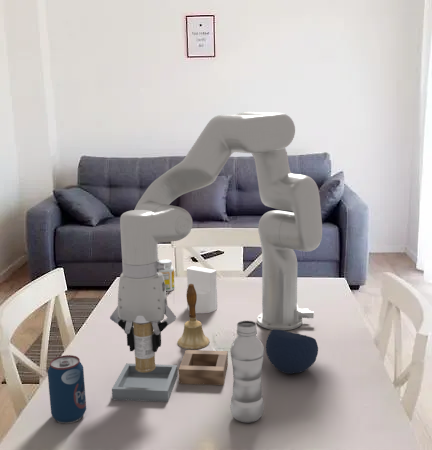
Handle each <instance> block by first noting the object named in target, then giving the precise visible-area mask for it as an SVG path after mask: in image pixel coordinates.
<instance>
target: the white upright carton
mask: <svg viewBox="0 0 432 450" xmlns="http://www.w3.org/2000/svg"><path fill="white" fill-rule="evenodd" d="M186 284H187V287H186V290H187V289H188V285H189V284H194V288H195V290H196V294H197V301H196V305H195V313H196V314H208V313H212V312H215V311H216V310H217V309H218V286H217V269H211V268H206V267H199V266H196V265H195V266H194V265H192V266H189V267H187V268H186ZM187 310H188V311H189V305H188V303H187Z"/></svg>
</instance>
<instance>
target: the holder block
mask: <svg viewBox="0 0 432 450" xmlns="http://www.w3.org/2000/svg"><path fill="white" fill-rule="evenodd" d="M228 353H229V352H228V351H227V350H204V349H203V350H201V349H185V351H184V353H183V357H182V359H181V361H180V365H179V368H178V384H181V385H204V386H205V385H207V386H224V385H225V381H226V377H227V373H228V372H227V370H228V366H229V365H228V364H229V356H228V355H229V354H228Z"/></svg>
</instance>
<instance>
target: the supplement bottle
mask: <svg viewBox="0 0 432 450" xmlns="http://www.w3.org/2000/svg"><path fill="white" fill-rule="evenodd" d="M159 262H160V263H162V264H165V270H161V271H159V272H161V273H162V274H163V277H164V282H165V288H166V291H167V292H171V291H173V290H175V268H174V266H173V261H172V260H171V259H167V258H165V259H161V260H160V259H159Z"/></svg>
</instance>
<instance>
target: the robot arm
mask: <svg viewBox="0 0 432 450" xmlns="http://www.w3.org/2000/svg"><path fill="white" fill-rule="evenodd" d="M295 135H296V126H295V122H294V121H293V118H291V117H290V116H289V114H287V113H283V112H261V111H245V112H244V111H243V112H239V113H237V114H220V115H216V116H214V117H212V118H211V119H210V120H209V121H208V122H207V124H206V125H205V127H204V128H203V129H202V131H201V133H200V134H199V136H198V137H197V139H196V140H195V142H194V143H193V145H192V147H191V148H190V150H189V151H188V152H187V154H186V156H185V157H184V158H183V159H182V160H181V161H180V162H179V163H177V164H175V166H172V167H171V168H170V169H168V170H167V171H165V172H164V173H163V174H161V175H160V176H158V177H157V178H156V179H155V180H153V181H152V182H151V184H150V185H148V187H147V188H146V190H145V191H144V193H143V194H142V195H141V197H140V199H139V200H138V202H137V203H136V205H135V208H134V210H133V209H131V210H128V211H125V212H123V213H122V214H121V215H120V217H119V226H120V244H121V245H120V246H121V259H122V260H121V261H122V262H121V263H122V264H121V265H122V272H121V273H120V276H119V281H118V290H117V291H118V293H117V307H116V308H115V309H114V311H112V314H111V315H110V316H109V318H110V320H111V321H113V322H114V323H116V324H117V325H118V327H120V328H121V329H122V330H123V332H124V334H126V343H127V344H126V345H127V346H128V347H129V352H133V351H134V352H135V350H134V327H133V321H135V320H136V317H137V316H143V317H144V318H145V320H146V321H149V322H151V323H152V326H153V332H154V333H153V335H152V343H153V351H154V352H155V353H157V351H158V350H159V347H161V346H162V332H163V331H164V330H165V329H166V328H167V327H168V326H170V325H171V324H172V323H174V322H176V319H177V317H176V315H175V313H174V312H173V311H172V310H171V308H170V307H169V306H168V298H167V292H166V288H165V282H164V277H163V274H162V273H161V272H159V271H161V270H165V264H162V263H160V262H159V261H160V259H159V251H158V249H159V248H158V244H159V243H167V242H168V243H169V242H170V243H171V242H177V241H181V240H183V239H185V238H186V237H187V236H189V234H190V233H191V231H192V229H193V218H192V214H190V212H189V211H188V210H186V209H185V208H183V207H180V206H176V205H172V204H171V203H172V202H174V201H175V200H176V199H177V198H179V197H181V196H182V195H185V194H187V193H190V192H193V191H197V190H200V189H203V188H205V187H208V186H210V185H212V184H213V183H214V182H216V180H217V177H218V176H219V174H220V173H221V171H222V170H223V168H224V166H225V165H226V164H227V162H228V160H229V159H230V157H231V156H232V155H233V153H240V154H241V153H242V154H251V155H252V157H253V160H254V164H255V169H256V177H257V178H256V179H257V185H258V193H259V198H260V201H261V203H262V204H263V205H264V206H265V207H268V208H272V209H275V210H269V211H267V212H265V213H264V214H263V215H261V217H260V218H259V221H258V228H257V229H258V238H259V242H260V246H261V258H262V259H261V260H262V262H261V263H262V265H261V267H262V270H261V273H262V276H261V277H262V279H261V280H262V281H261V282H262V283H261V285H262V287H261V289H262V291H261V293H262V298H261V299H262V303H261V304H262V307H261V309H262V311H261V313H260V314H258V315H257V316H256V324H258V326H259V327H262V328H264V329H267V330H270V331H272V330H274V329H278V330H284V331H290V330H294V329H297V328H299V327H301V325H303V319H314V316H315V315H314V311H311V310H309V308H300V307H299V304H298V260H297V255H296V251H300V252H312V251H315V250H316V249H318V247H319V246H320V244H321V242H322V237H323V220H322V210H321V209H322V207H321V196H320V190H319V187H318V185H317V183H316V181H315V180H314V179H313V178H312V177H311V176H308V175H305V174H300V173H292V171H291V169H290V163H289V157H288V152H287V149H286V148H287V147H289V145H291V143H292V142H293V140H294V138H295ZM170 204H171V205H170ZM294 250H296V251H294ZM165 317H166V318H165ZM164 318H165V319H164Z"/></svg>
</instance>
